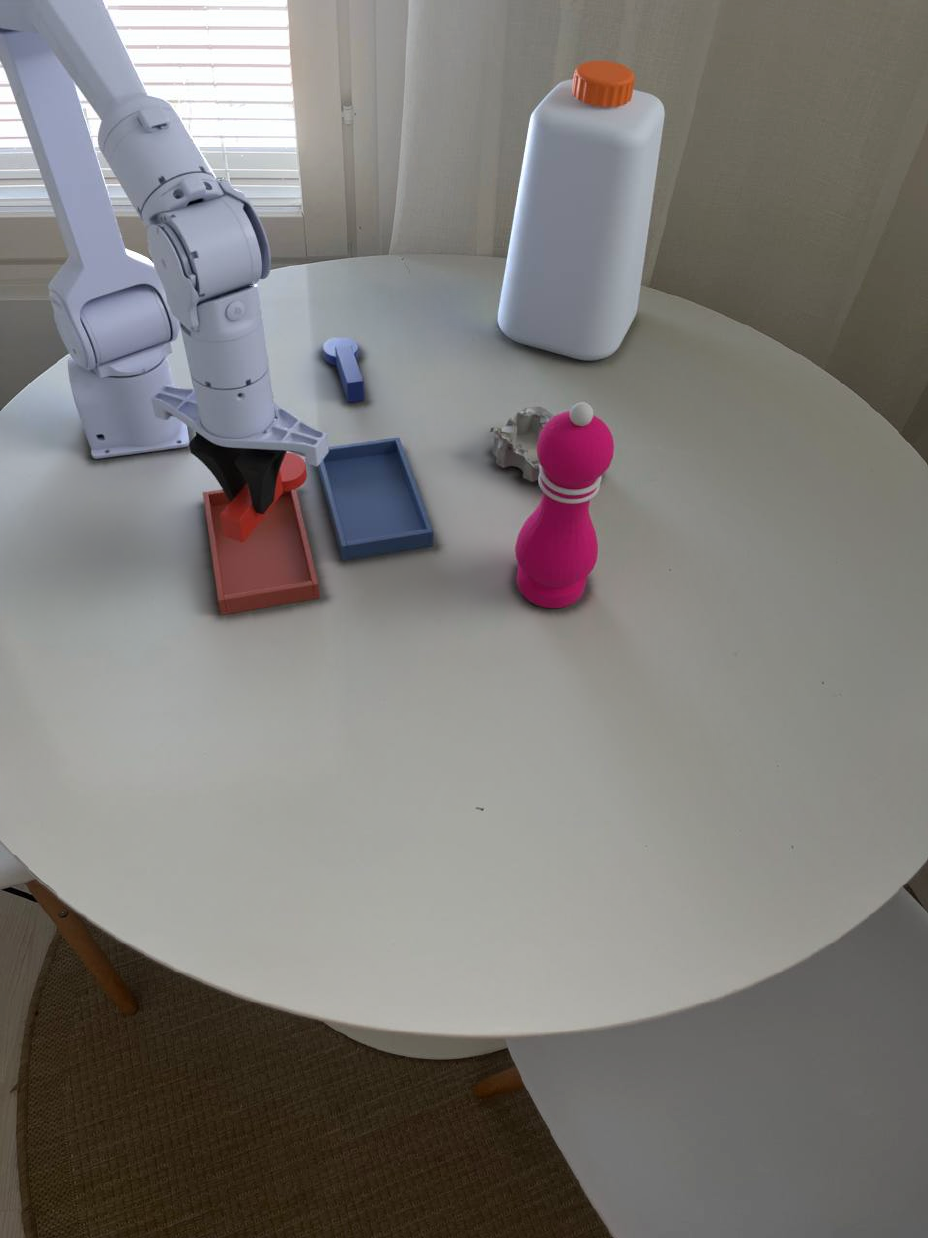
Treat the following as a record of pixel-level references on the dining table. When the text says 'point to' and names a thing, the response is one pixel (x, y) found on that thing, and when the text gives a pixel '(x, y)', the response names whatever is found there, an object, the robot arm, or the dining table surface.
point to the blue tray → (374, 499)
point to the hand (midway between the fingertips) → (253, 502)
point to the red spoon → (240, 511)
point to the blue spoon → (346, 365)
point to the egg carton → (521, 441)
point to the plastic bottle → (582, 214)
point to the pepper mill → (564, 509)
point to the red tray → (261, 557)
